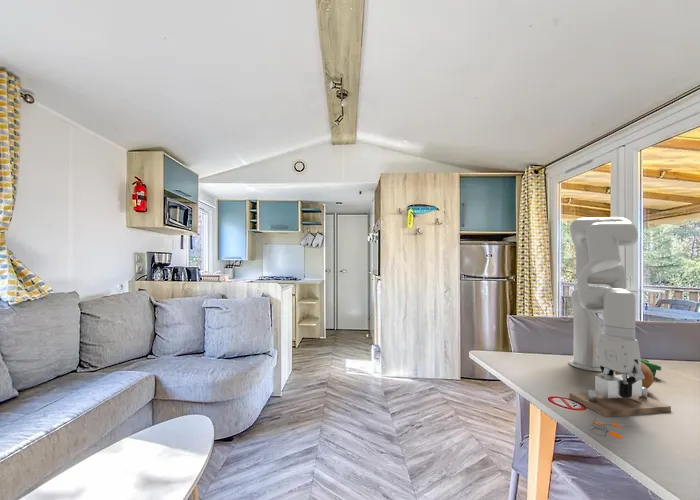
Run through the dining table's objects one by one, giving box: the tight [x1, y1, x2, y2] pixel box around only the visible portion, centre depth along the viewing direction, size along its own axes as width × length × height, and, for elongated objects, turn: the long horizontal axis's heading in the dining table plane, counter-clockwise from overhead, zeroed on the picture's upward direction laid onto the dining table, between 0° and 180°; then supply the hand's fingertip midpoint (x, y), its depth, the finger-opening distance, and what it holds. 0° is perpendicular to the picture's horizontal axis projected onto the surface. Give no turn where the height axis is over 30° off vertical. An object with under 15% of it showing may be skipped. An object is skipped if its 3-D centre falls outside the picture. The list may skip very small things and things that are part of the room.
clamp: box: [640, 357, 662, 378], centre depth 125 cm, size 12×6×9 cm, turn 162°
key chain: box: [588, 418, 631, 439], centre depth 84 cm, size 13×7×1 cm, turn 129°
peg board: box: [569, 387, 672, 418], centre depth 98 cm, size 22×12×4 cm, turn 101°
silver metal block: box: [594, 374, 642, 398], centre depth 98 cm, size 4×12×5 cm, turn 101°
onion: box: [614, 362, 655, 389], centre depth 110 cm, size 10×10×10 cm
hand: (618, 392), depth 98 cm, fingers closed on silver metal block, 4 cm apart
